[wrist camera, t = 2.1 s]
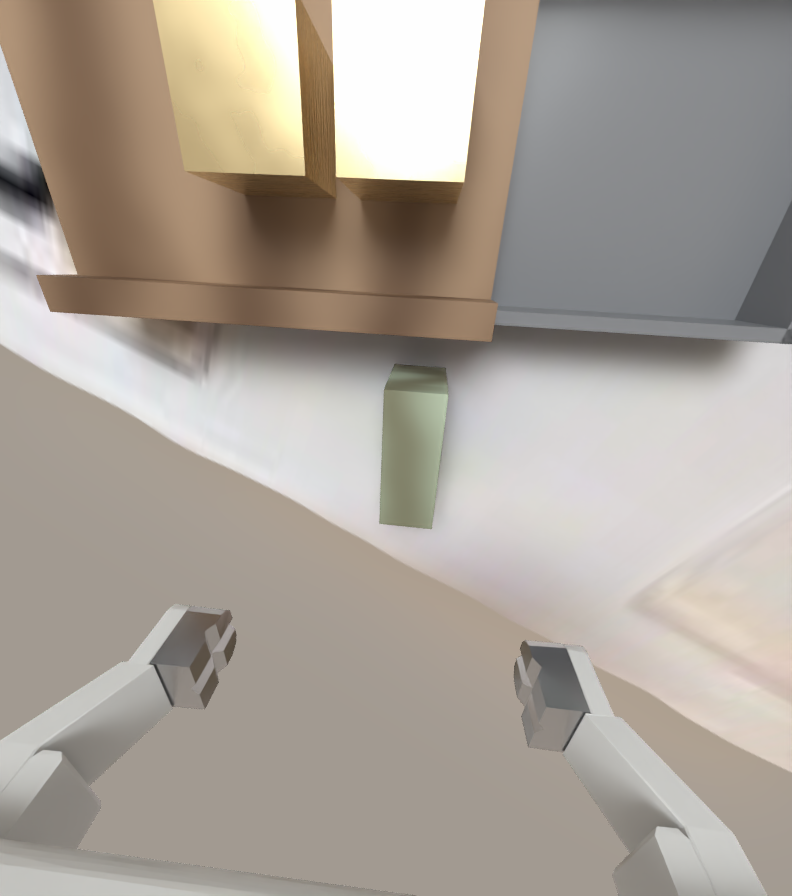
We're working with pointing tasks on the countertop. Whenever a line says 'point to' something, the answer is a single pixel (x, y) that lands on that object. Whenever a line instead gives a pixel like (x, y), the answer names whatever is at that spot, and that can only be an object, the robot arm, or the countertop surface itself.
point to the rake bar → (412, 444)
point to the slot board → (249, 216)
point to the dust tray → (653, 172)
